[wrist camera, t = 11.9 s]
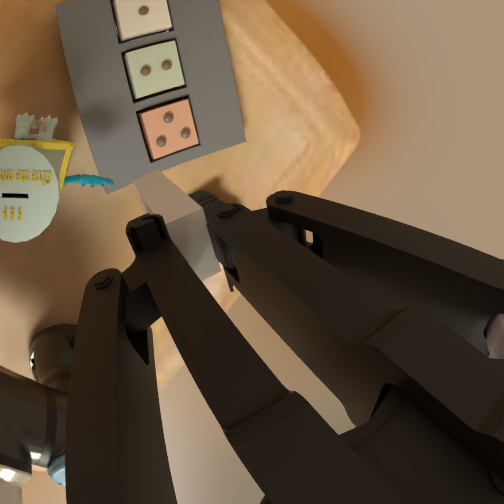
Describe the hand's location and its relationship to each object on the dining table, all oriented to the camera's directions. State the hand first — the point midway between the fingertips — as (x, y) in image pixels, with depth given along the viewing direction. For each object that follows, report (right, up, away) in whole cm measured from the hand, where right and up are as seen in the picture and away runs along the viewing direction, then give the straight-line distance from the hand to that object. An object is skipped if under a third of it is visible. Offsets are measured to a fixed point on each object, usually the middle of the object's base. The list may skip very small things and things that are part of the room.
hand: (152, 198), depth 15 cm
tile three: (-6, +13, +20) cm, 25 cm away
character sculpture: (-21, +9, +14) cm, 27 cm away
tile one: (-9, +26, +11) cm, 30 cm away
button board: (-8, +20, +16) cm, 27 cm away
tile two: (-7, +20, +16) cm, 26 cm away
